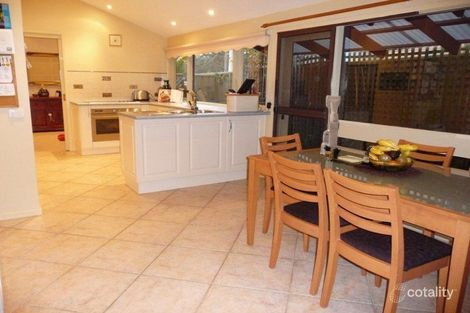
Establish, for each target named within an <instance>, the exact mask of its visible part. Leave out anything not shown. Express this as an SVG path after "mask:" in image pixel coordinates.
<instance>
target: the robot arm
mask: <svg viewBox="0 0 470 313" xmlns="http://www.w3.org/2000/svg"><path fill="white" fill-rule="evenodd" d="M341 99H342V98H341V95H328V94H327V95H326V97H325V107H326V108H327V109H328V119H327V129H326V130H325V131H323V135H322V143H321V145H320V152H319V155H323V156H325V151H334V159H333V160H336V159H337V156H338V157H339V155H338V154H340V152H341V151H342V146H340V145H338V136H339V130H340V126H341V125H340V120H339V113H338V112H337V110H338V108H339V106H340V104H341Z"/></svg>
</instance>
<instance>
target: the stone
mask: <svg viewBox="0 0 470 313" xmlns="http://www.w3.org/2000/svg"><path fill="white" fill-rule="evenodd" d="M375 146H376V145H369V146H368V147H367V148H366V149H365V150H366V151H365V152H364V153H363V158H362V161H361V162H360V164H370V163H369V152H370V149H371V148H372V147H375Z"/></svg>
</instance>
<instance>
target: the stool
mask: <svg viewBox="0 0 470 313" xmlns="http://www.w3.org/2000/svg"><path fill="white" fill-rule="evenodd" d="M339 154H340V153H339ZM339 154H338V156H337V159H334V151H325V155H324V161H327V159H328V162H331V160H335V161H339V159H338V157H339Z"/></svg>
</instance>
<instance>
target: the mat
mask: <svg viewBox="0 0 470 313" xmlns="http://www.w3.org/2000/svg"><path fill="white" fill-rule="evenodd" d="M362 159H363V158H361V157H358V156H353V155H341V156H339V155H338V161H340V160H341V161H343V162H348V163H351V164H356V163H361V161H362Z"/></svg>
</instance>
